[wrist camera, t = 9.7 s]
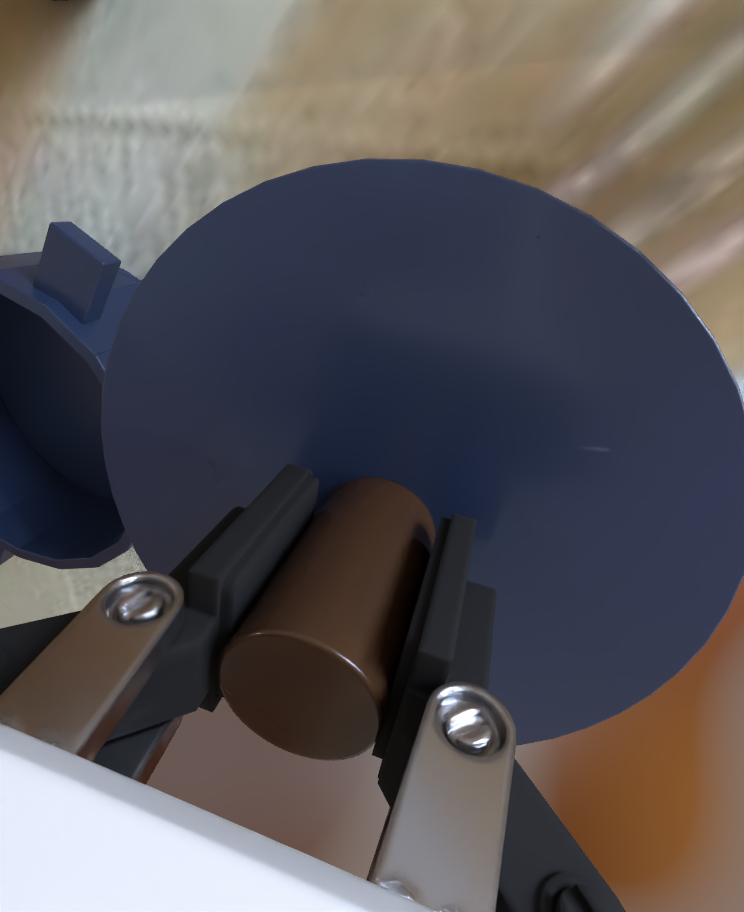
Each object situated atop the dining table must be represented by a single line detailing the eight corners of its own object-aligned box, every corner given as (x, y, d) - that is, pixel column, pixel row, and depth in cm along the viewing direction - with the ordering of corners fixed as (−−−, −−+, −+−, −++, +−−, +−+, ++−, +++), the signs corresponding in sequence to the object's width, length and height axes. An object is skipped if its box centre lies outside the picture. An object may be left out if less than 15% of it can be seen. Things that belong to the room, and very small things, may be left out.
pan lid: (66, 505, 17) (-148, 645, 11) (297, -36, 9) (-33, -375, 4) (435, 779, 18) (395, 1025, 12) (930, 502, 10) (1382, 841, 5)
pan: (-38, 435, 33) (-145, 480, 27) (34, 129, 23) (-114, 108, 17) (147, 572, 33) (77, 640, 28) (294, 335, 24) (227, 373, 18)
